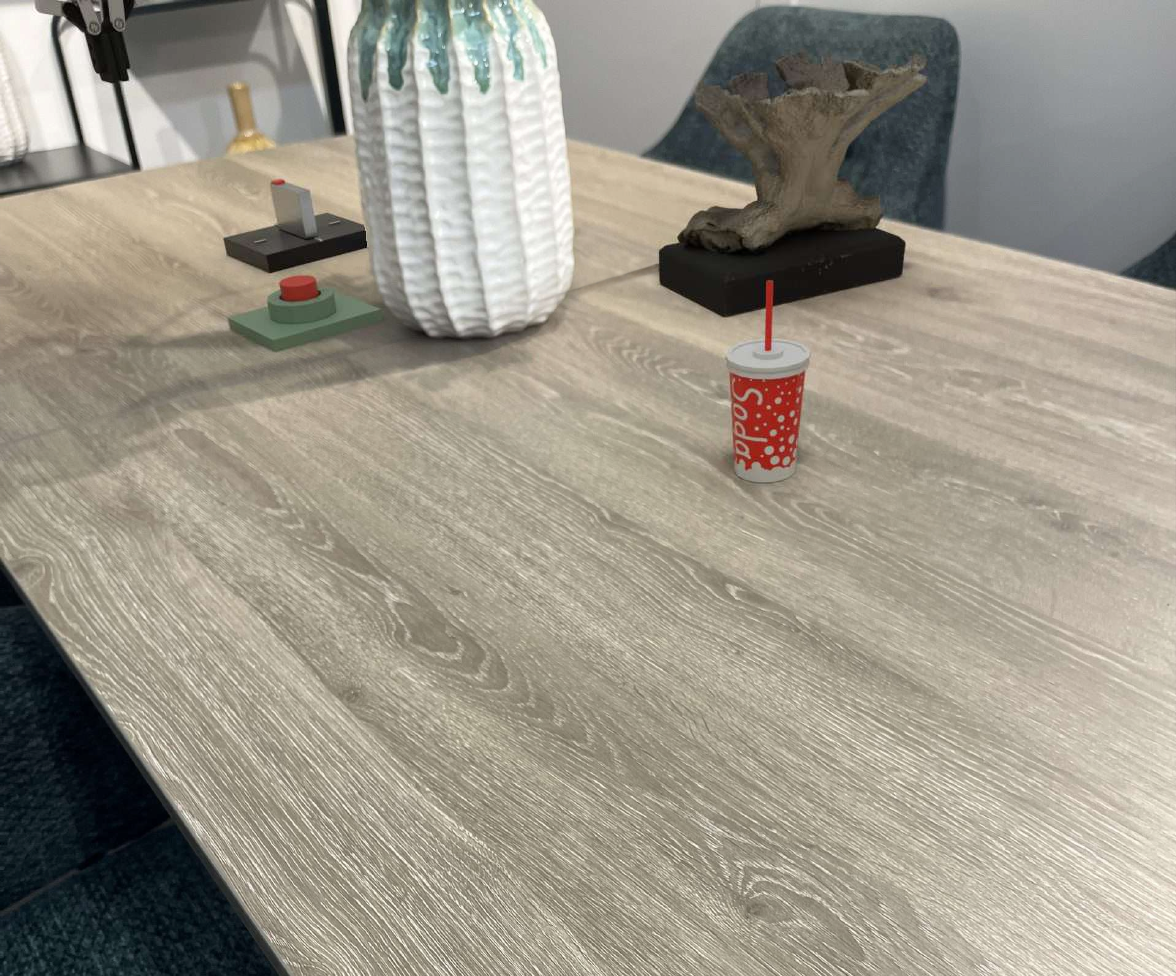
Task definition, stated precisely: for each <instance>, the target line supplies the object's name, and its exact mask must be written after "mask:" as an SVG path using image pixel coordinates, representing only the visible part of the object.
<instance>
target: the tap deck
mask: <svg viewBox="0 0 1176 976" xmlns="http://www.w3.org/2000/svg"><path fill="white" fill-rule="evenodd" d="M314 217H315V222H316V228H317V233H318V236H316V237H312V238H308V239H305V238H302V237H300V236H297V235H294V234H292V233H289V232H286V231H284V230H281V229H279V228H278V224H277V222H276V223H274V225H271V226H270V225H269V226H265V227H262V228H258V229H254V230H249V231H246V232H242V233H238V234H233V235H229V236H225V237H223V238H222V239H223V243H224V248H225V253H226V256H227V257H229V258H232V259H235V260H237V261H239V262H241V263H244V264H246V265H249V266H251V267H253V268H256V269H259V270H260V271H263V272H265V273H268V274H273V273H277V272H281V271H285V270H289V269H293V268H296V267H300V266H304V265H308V264H312V263H315V262H319V261H323V260H327V259H330V258H334V257H339V256H342V255H346V254H349V253H353V252H358V251H361V250H365V249H368V248H367V241H366V231H365V227H364V225H365V224H363V223H360V222H357V221H354V220H351V219H348V218H345V217H341V216H338V215H336V214H332V213H330V212H324V213H320V214H316V215H315V214H314Z"/></svg>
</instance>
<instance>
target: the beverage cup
mask: <svg viewBox="0 0 1176 976" xmlns="http://www.w3.org/2000/svg"><path fill="white" fill-rule="evenodd" d="M773 308H774V307H773V280H768V281H766V307H765V319H764V320H765V323H764V338H759V339H758V338H757V339H750V340H745V341H742V342H738V343H736V344H734V345H733V346H731V347H729V348H727V350H726V353H725V356H724V360H725V361H726V363H725V367H726V369H727V370H728V373H729V390H730V391H729V393H730V409H731V410H730V411H731V428H732V447H733V450H732V451H733V465H734V472H735V474H736V475H737V477H738V478H741V479H743V480H744V481H749V482H753V483H766V484H768V483H777V482H780V481H781V482H782V481H784V480H787V479H789V478H790V477H792V476H793V475H794V474H795V471H796V466H797V465H796V463H797V454H798V445H799V435H800V426H801V418H802V417H801V416H802V410H803V409H802V408H803V399H804V388H805V380H806V370H808V369H809V366H810V364H811V361H810V359H811V353H812V351H811V350H810V349H809V347H808V346H807V345H805V344H804V343H801V342H798V341H795V340H790V339H783V338H773V310H774V309H773Z"/></svg>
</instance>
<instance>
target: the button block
mask: <svg viewBox="0 0 1176 976" xmlns="http://www.w3.org/2000/svg"><path fill="white" fill-rule="evenodd" d="M317 288H318V294H319V296H318V297H316V298H313V299H310V300H306V301H297V302H288V301H283V300H282V295H281V290H280V289H277V290H276V291H274V292H272V293H270V294H269V295H267V299H266V304H267V305H266V306H263V307H260V308H257V309H253V310H250V311H246V312H242V313H239V314H238V313H237V314H235V315H231V316H227V323H228V327H229V330H231V331H233V332H235V333H236V334H238V335H240V336H243V337H245V338H246V339H249V340H250V341H252V342H255V343H256V344H258V345H260V346H262V347H265V348H267V349H268V350H271V351H272V352H274V353H279V352H282V351H285V350H288V349H292V348H295V347H299V346H302V345H307V344H308V343H313V342H316V341H319V340H322V339H326V338H329V337H333V336H336V335H340V334H343V333H346V332H349V331H353V330H357V329H360V328H363V327H366V326H370V325H373V324H377V323H380V322H383V315H382V309H381V308H380V307H377V306H375V305H372V304H369V303H367V302H365V301H362V300H360V299H357V298H355V297H352V296H349V295H348V294H345V293H342V292H340V291H337V290H335V289H334V288H331V287H329V286H327V285H322V284H317Z"/></svg>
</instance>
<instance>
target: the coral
mask: <svg viewBox="0 0 1176 976" xmlns="http://www.w3.org/2000/svg"><path fill="white" fill-rule="evenodd" d="M823 54H824V56H822V58H821V63H819V64H818V65H817V64H816V63H813V62H810V58H809V52H808V51H805V50H801V49H799V50H797V51H796V53H792V54H790V53H788V54H786V55H785V56H783V57H781V58H780V59H778V60H776V59H775V60H773V66H774V69H775V70H776V71H777V74H778V76H779V77H780V79H781V80H782V81H783V82H784V83H785V85H786V87H787V89H788V90H786V91H785V92H783V93H781V95H778V96H775V97H773V98H772V99H771V98H770V94H771V89H770V90H769V87H770V86H769V83H770V82H769V81H770V75H769V74H768V73H767V72H764V71H763V72H760V73H758V72H752V71H751V72H749V71H745V72H744V73H742V74H740V75H739V74H737V75H735V76H733V77H731V78H730V79H729V80H728V88H729V90H727V89H722V87H721V85H715V86H714V85H713V86H710V84H709V83H707V82H705V81H704V80H703V79H700V81H699V82H698V83H697V85H696V87H695V89H694V92H693V98H694V99H693V100H694V106H695V108H696V110H697V111H698V112H699V113H700V114H701V115H702V116H703V117H705V119H706V120H707V121H708V122H709V123H710V124H711V125H712V127H714V128H715V129H716V131H717V133H718V134H720V136H721V137H722V138H724V139H725V140H726V141H727V142H728V143H729V144H730V145H731V146H732V148H733V149H735V150H736V151H738V152H740V153H741V154H742V155H743V156H744V157H745V158H746V159H747V161H749V163H750V164H751V166H752V170H753V175H754V187H755V193H756V200H753V201H751V202H750V203H747V204H745V206H744V207H743V208H737V207H733V208H732V207H723V206H719V205H713V206H710V207H708V208H707V210H704V209H703V210H699V211H697V212H695V213H694V214H693V215H692V216H691V218H690V219H689V221H688V223H687V224H686V227H685V228H684V229H682V230H681V231H680V232H679V233H678V235H677V236H676V238H677V241H678V242H675V243H670V244H666V245H664V246H663V247H661V248H659V250H658V278H659V279H658V280H659V284H660V285H661V286H663V287H665V288H667V289H670V290H671V291H673V292H675V293H678V294H679V295H681V296H684V297H685V298H687V299H689V300H691V301H693V302H695V303H697V304H699V305H700V306H703V307H704V308H706V309H708V310H710V311H713V313H715V312H716V313H715V314H717V313H718V314H717V315H720V316H721V317H729V316H735V315H738V314H743V313H746V312H752V311H757V310H760V309H764V308H765V309H766V281H768V280H773V306H777V305H782V304H785V303H790V302H795V301H798V300H801V299H808V298H812V297H815V296H820V295H824V294H828V293H833V292H837V291H841V290H845V289H850V288H853V287H858V286H862V285H866V284H872V283H876V282H879V281H884V280H885V281H886V280H889V279H892V278H897V277H901V276H902V275H903V271H904V263H905V262H904V261H905V254H906V253H905V252H906V244H907V243H906V241H905V240H904V239H903V238H902V237H901V236H899V235H896V234H894V233H891V232H889V231H886V230H883V229H880V228H877V227H878V225H880V223H881V220H882V219H883V217H884V211H883V209H882V204H881V194H879V193H878V194H873V195H868V196H864V195H862V194H860V193H859V192H858V191H857V190H856V189H855V188H854V187H853V185H852V182H851V181H850V179H848V178H845V177H843V178H838V176H839V172H840V168H841V165H842V163H843V162H844V160H845V157H846V154H847V150H848V149H849V146H850V145H851V144H852V142H853V141H855V140H856V139H857V138H858V137H859V135H861V134H862V133H863V131H864V129H866V128H867V126H869V125H870V124H871V122H873V121H874V120H875V119H877V118H878V117H879V116H880V115H882V114H883V113H884V112H886V111H887V110H889V109H890V108H892V107H893V106H894V105H896V104H899V103H900V102H902V101H903V100H904V98H906V97H907V96H910V94H911V93H913V92H915V91H917V90H918V89H919V88H921V87H923V85H925V84H926V83H927V80H928V79H927V75H924V74H923V73H919V72H920V71H922V70H924V68H925V67H926V63H927V60H926V59H925V56H924V55H922V54H919V53H916V54H915V55H911V56H909V60H908V62H907V63H906V64H904V65H902V66H899V64H898V63H897V64H895V65H892V64H890V65H889V66H888V67H887V68H885V69H881V68H880V67H878V66H877V64H872V63H869V62H867V61H865V60H863V59H860V60H859V61H858V62H856V61H854V60H846V59H844V60H842V61H841V63H840V64H837V61H836V60H835V59H833V58H831V54H830V52H829V51H827V50H824V51H823Z"/></svg>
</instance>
